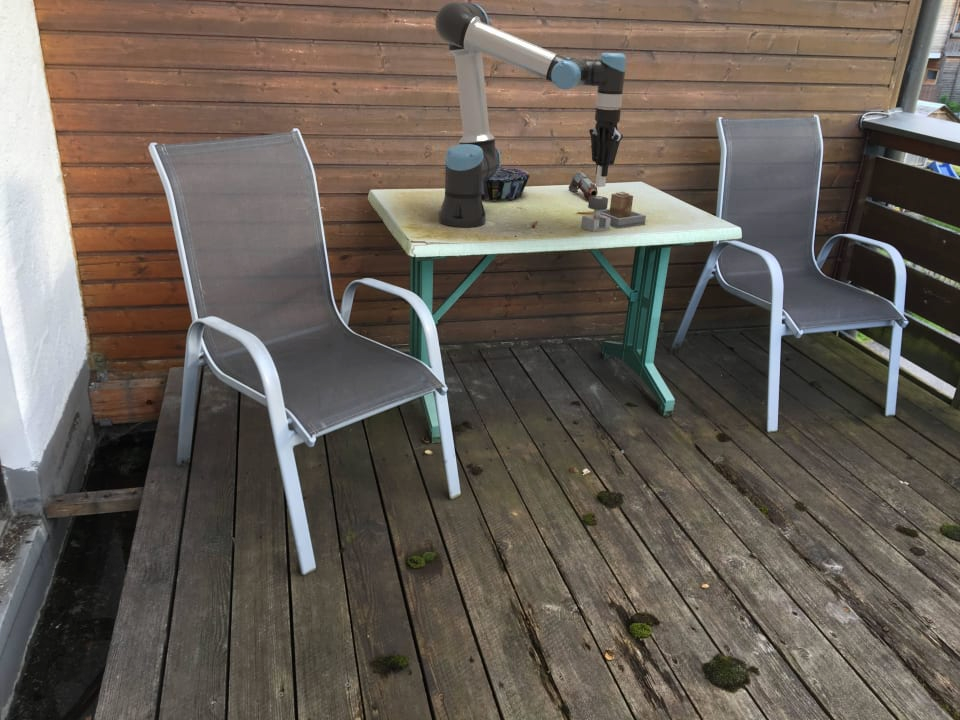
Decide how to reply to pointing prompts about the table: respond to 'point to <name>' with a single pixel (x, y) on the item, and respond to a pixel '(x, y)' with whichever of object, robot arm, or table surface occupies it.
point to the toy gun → (583, 185)
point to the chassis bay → (625, 219)
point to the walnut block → (621, 205)
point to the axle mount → (596, 223)
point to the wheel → (597, 204)
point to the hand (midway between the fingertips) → (600, 186)
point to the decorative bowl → (504, 185)
